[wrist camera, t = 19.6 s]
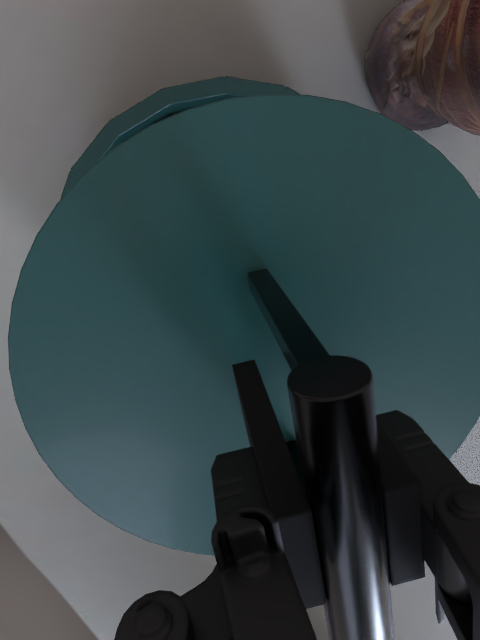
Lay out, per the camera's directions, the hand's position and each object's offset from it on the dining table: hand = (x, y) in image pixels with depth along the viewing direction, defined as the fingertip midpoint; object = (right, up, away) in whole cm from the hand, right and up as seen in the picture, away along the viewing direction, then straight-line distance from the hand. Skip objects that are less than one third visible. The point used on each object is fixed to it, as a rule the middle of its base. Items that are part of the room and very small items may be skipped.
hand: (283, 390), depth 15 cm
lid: (0, +1, +2) cm, 2 cm away
